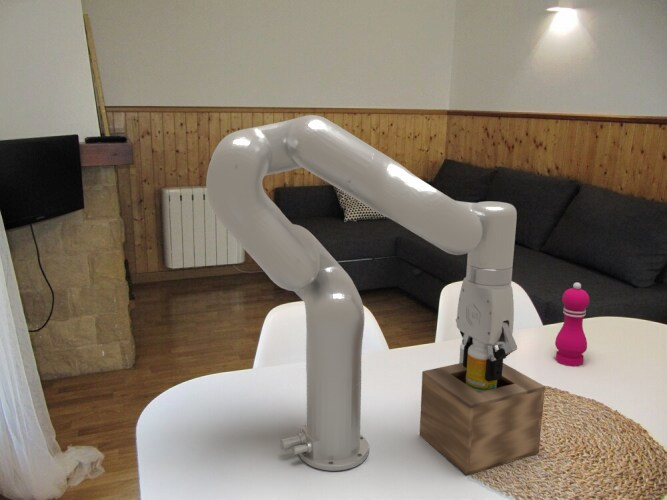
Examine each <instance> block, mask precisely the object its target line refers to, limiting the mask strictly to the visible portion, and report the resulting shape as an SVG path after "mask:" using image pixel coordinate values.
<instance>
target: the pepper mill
mask: <svg viewBox="0 0 667 500" xmlns="http://www.w3.org/2000/svg"><path fill="white" fill-rule="evenodd" d="M561 301H562V303H563V305H564V306H563V310H562V313H563V314H564V321H563V324H562V327H561V329H560V330H559V331H558V332H557V335H556V337H555V342H554V345H555V347H556V349H557V350H556V353H555V360H556V362H558V363H559V364H561V365H564V366H570V367H578V366H582V365H583V364H584V358H585V357H584V353H585V352H586V351H587V349H588V342H587V341H588V340H587V337H586V334H585V332H584V328H583V322H584V317H585V316H586V313H587V310H586V308H587V307H588V306H589V304H590V296H589V294H588V293H587V291H586V290H584V289H582V284H581V283H580V282H574V283H573V285H572V288H568V289H566V290H565V291H564V293H563V294H562V299H561Z"/></svg>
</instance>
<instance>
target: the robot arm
mask: <svg viewBox="0 0 667 500" xmlns="http://www.w3.org/2000/svg"><path fill="white" fill-rule="evenodd" d="M207 168H208V169H207V173H206V178H205V179H206V180H205V181H206V184H205V186H206V193H207V198H208V201H209V205H210V206H211V210H212V211H213V213H214V214H215V216H216V217H217V219H218V221H220V223H221V224H222V225H223V227H224V228H225V229H226V230H227V231H228V233H230V235H231V236H232V237H233V238H234V239H235V240H236V241H237V242H238V243H239V245H240V246H241V247H242V248H243V249H244V251H245V252H246V253H247V254H248V255H249V256H250V258H252V259H253V260H254V261H255V263H256V264H257V265H258V266H259V267H260V268H261V269H262V270H263V272H264V273H265V274H266V275H267V276H268V278H269V279H270V280H271V281H272V282H273V283H274V284H275V285H277V286H278V287H279V288H281V289H284V290H286V291H291V292H294V293H295V294H296V295H297V296H298V297H299V298H300V299H301V301H303V303H304V308H305V321H306V324H305V325H306V326H305V327H306V336H305V337H306V339H305V341H306V343H305V347H306V349H305V354H306V355H305V360H306V361H305V362H306V365H305V367H306V368H305V370H306V372H305V373H306V425H304V426H301V432H299V433H296V436H293V437H287V438H281V439H280V448H281V450H282V451H288V450H292V454H293V455H294V456H296V455H299V457H300V458H301V460H302V461H303V462H304V463H306V464H307V465H309V466H310V467H312V468H314V469H318V470H323V471H331V472H336V471H346V470H349V469H352V468H355V467H357V466H359V465H360V464H362V463H364V461H365V460H366V459H367V458H368V456H369V451H370V447H369V446H370V445H369V441H368V440H367V439H366V437H364V435H362V434H361V411H362V409H361V408H362V405H361V404H362V355H363V354H362V352H363V350H362V349H363V340H364V339H363V338H364V330H365V309H364V305H363V300H362V298H361V296H360V293H359V291H358V289H357V287H356V284H354V283H355V282H354V281H353V279H352V278H351V277H350V275H349V273H348V272H347V271H346V270H344V268H343V267H342V266H341V265H340V264H339V262H337V260H336V259H335V258H334V257H333V256H332V255H331V254H330V252H329V251H328V250H327V249H326V248H325V246H323V244H322V243H321V242H320V241H319V240H318V239H317V238H316V236H314V234H312V233H311V232H310V230H308V229H307V228H305V227H303V226H301V225H298V224H294V223H292V222H291V220H289V219H288V217H286V215H285V214H284V213H283V212H282V211H281V209H280V208H279V207H278V206H277V205H276V203H275V202H274V201H273V200H272V199H270V197H269V196H268V194H267V193H266V192H265V189H264V185H263V180H264V178H265V177H266V176H271V175H275V174H280V173H283V172H288V171H293V170H297V169H302V168H303V169H305V170H306V171H308V172H309V173H311V174H312V175H314V176H316V177H318V178H319V179H321V180H323V181H324V182H326V183H328V184H330V185H332V186H333V187H335V188H336V189H338V190H340V191H342V192H343V193H345V194H346V195H348V196H349V197H352V198H353V199H355V200H356V201H358V202H359V203H361V204H362V205H365V206H366V207H368V208H369V209H371V210H373V211H374V212H376V213H377V214H380V215H382V216H384V217H386V218H387V219H390V220H392V221H393V222H395V223H397V224H399V225H400V226H402V227H403V228H405V229H407V230H409V231H410V232H412V233H414V234H415V235H417V236H418V237H420V238H422V239H423V240H425V241H426V242H428V243H430V244H432V245H433V246H435V247H436V248H439V249H440V250H442V251H444V252H445V253H447V254H450V255H454V256H461V255H466V254H467V260H466V261H467V262H466V276H465V277H464V278H463V280H462V283H461V287H460V291H459V298H458V304H457V312H456V318H455V323H456V328H457V329H458V330H459V333H460V335H461V339H462V340H461V343H462V344H463V345H464V355H463V366H464V367H465V368H467V358H468V349H469V347H470V346H471V345H472V344H473V341H472V340H473V338H474V339H475V340H477V341H479V342H481V343H483V344H485V345H488V352H489V358H490V359H487V360H486V372H485V380H486V381H488V382H490V381H494V380H498V379H501V378H502V368H503V363H504V360H505V359H507V356H509V355H511V354H512V353H514V352H516V350H518V346H517V343H516V340H515V338H514V336H513V332H514V319H515V318H514V316H515V313H514V312H515V308H514V306H515V305H514V304H515V303H514V293H513V286H512V279H513V263H514V252H515V241H516V231H517V229H516V228H517V214H518V213H517V209H516V207H515V206H514V205H513V204H512V203H508V202H502V201H491V200H490V201H479V202H468V201H461V200H460V201H459V200H455V199H453V198H451V197H450V196H448V195H446V194H444V193H443V192H441V191H440V190H438V189H437V188H435V187H433V186H432V185H430V184H429V183H427V182H426V181H424V180H422V179H421V178H419V177H418V176H416V175H415V174H414V173H412V172H411V171H410V170H408V169H407V168H406V167H405V166H403V165H401V164H400V163H399V162H398V161H395V159H393V158H392V157H390V156H389V155H387V154H385V153H383V152H382V151H380V150H379V149H377V148H374V147H373V146H371V145H370V144H368V143H367V142H365V141H363V140H362V139H360V138H358V137H357V136H356V135H354V134H352V133H351V132H349V131H347V130H346V129H344V128H343V127H341V126H340V125H338V124H336V123H334V122H332V121H331V120H329V119H327V118H325V117H323V116H319V115H314V114H309V115H308V114H307V115H303V116H299V117H295V118H292V119H288V120H284V121H279V122H273V123H269V124H264V125H259V126H254V127H249V128H243V129H240V130H239V129H238V130H236V131H234V132H231V133H229V134H227V135H226V136H225V137H224V138H222V140H220V142H218V145H217V146H216V147H215V148H214V151H213V154H212V155H211V158H210V162H209V165H208V167H207ZM496 346H497V349H498V350H497V351H496V352H495V347H496Z"/></svg>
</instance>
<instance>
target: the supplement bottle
mask: <svg viewBox="0 0 667 500" xmlns="http://www.w3.org/2000/svg"><path fill="white" fill-rule="evenodd" d="M472 341H473V344H472V345H471V346H470V347H469V349H468V358H467V373H466V385H468V386H469V387H471V388H472V389H474V390H475V391H477V392H483V391H487V390H491V389H495V388H497V380H494V381H490V382H488V381H486V380H485V372H486V360H487V359H490V358H489V352H488V345H485V344H483V343H481V342H479V341H477V340H475V339H474V338H473V340H472ZM497 350H499V349H498V347H497V346H495V352H496V351H497Z"/></svg>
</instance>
